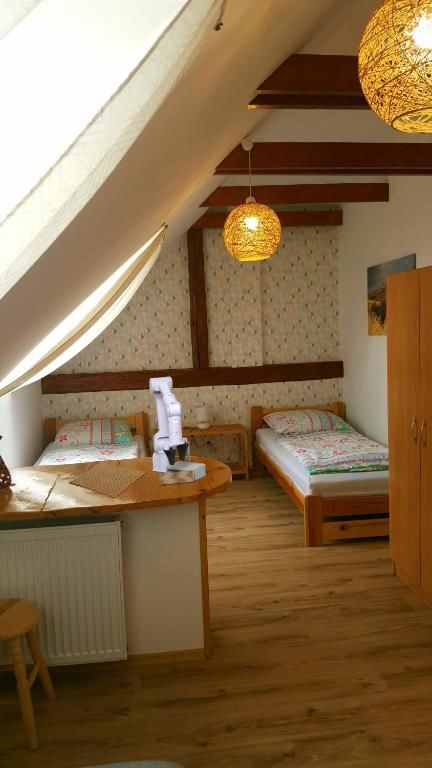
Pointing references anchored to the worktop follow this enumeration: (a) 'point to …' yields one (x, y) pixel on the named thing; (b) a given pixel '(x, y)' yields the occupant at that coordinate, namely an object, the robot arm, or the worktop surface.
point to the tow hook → (189, 454)
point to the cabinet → (187, 468)
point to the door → (176, 477)
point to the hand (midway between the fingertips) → (177, 462)
